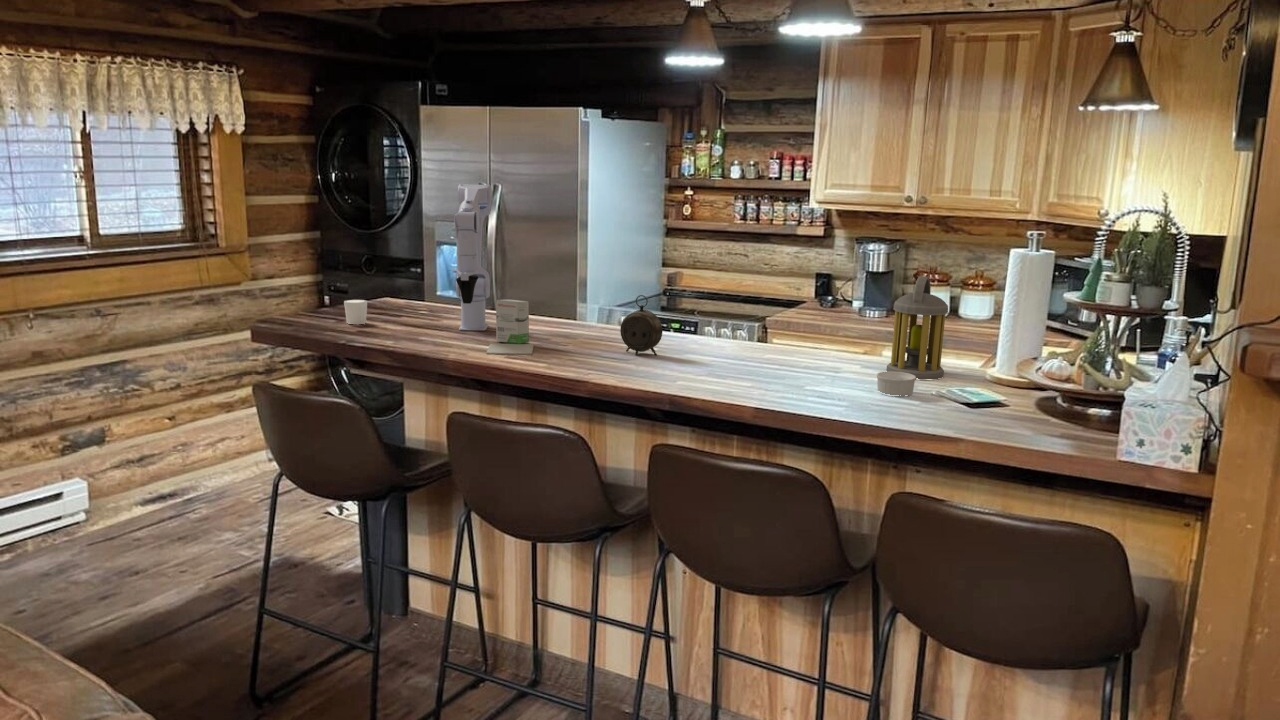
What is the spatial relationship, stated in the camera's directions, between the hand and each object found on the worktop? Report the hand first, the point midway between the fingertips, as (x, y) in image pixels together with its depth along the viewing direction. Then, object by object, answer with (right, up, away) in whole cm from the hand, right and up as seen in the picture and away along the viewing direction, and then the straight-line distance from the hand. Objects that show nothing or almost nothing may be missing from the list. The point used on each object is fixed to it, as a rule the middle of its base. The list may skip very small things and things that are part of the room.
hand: (467, 302), depth 271 cm
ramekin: (+109, -24, -48) cm, 121 cm away
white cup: (-38, -5, +21) cm, 43 cm away
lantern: (+119, -20, -27) cm, 124 cm away
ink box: (+13, -11, -2) cm, 18 cm away
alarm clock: (+49, -15, -13) cm, 53 cm away
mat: (+14, -14, -11) cm, 22 cm away
